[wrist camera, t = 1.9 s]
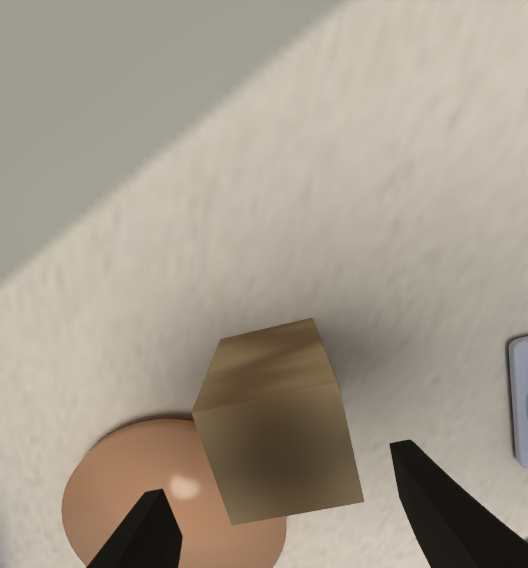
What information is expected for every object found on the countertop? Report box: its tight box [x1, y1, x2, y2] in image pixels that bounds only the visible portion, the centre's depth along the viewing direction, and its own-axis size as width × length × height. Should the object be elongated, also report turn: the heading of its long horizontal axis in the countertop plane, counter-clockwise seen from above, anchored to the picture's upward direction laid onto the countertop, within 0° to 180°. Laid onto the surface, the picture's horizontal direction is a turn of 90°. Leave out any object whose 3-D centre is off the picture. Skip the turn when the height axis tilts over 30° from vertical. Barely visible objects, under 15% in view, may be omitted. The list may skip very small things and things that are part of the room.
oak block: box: [191, 318, 364, 526], centre depth 13 cm, size 5×5×6 cm
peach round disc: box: [62, 419, 286, 568], centre depth 18 cm, size 13×13×1 cm
